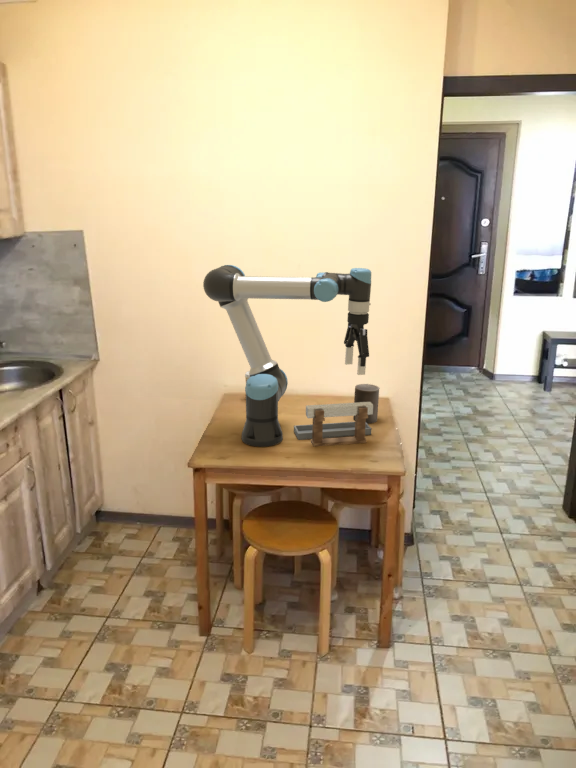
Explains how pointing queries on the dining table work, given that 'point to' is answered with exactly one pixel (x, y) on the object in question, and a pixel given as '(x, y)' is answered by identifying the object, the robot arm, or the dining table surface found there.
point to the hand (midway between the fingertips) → (354, 369)
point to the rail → (339, 409)
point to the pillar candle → (368, 399)
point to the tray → (329, 430)
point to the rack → (358, 438)
